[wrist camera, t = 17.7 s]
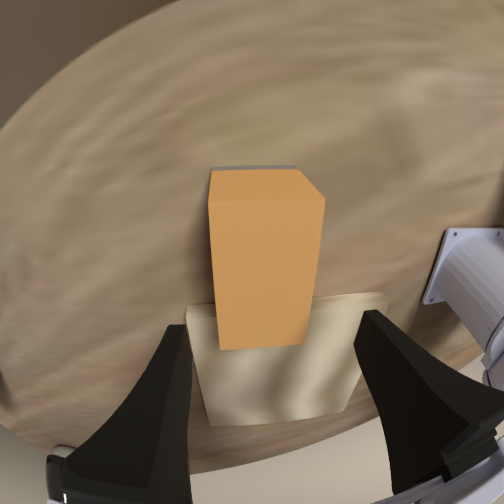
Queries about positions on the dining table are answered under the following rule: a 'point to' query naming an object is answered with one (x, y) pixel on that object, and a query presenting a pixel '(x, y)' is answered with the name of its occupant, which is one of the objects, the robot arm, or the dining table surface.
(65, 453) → the black egg shaped device
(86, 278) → the dining table surface
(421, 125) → the dining table surface
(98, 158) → the dining table surface
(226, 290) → the block
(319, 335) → the board
